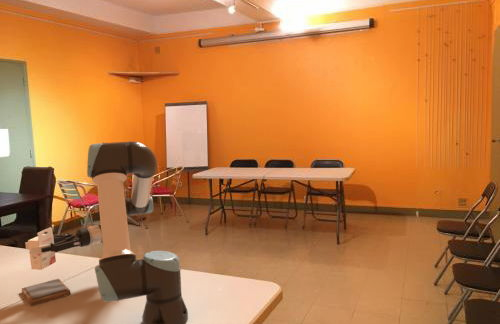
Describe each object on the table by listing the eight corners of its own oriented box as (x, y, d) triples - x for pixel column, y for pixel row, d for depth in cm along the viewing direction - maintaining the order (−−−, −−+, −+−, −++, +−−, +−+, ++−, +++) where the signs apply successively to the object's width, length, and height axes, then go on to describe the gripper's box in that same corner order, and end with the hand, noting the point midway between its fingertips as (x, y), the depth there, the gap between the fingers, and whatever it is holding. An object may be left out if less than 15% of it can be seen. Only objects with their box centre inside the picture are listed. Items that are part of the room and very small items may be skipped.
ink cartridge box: (45, 261, 169) (42, 226, 167) (56, 262, 168) (53, 226, 166) (30, 269, 161) (26, 232, 159) (41, 270, 160) (38, 232, 158)
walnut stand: (70, 294, 164) (70, 289, 164) (31, 305, 155) (30, 300, 155) (59, 282, 176) (58, 277, 176) (22, 292, 167) (21, 287, 167)
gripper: (98, 251, 167) (36, 265, 153) (80, 239, 183) (23, 251, 169) (96, 232, 166) (34, 246, 152) (79, 222, 182) (21, 233, 168)
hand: (28, 248), depth 160 cm, fingers closed on ink cartridge box, 9 cm apart
